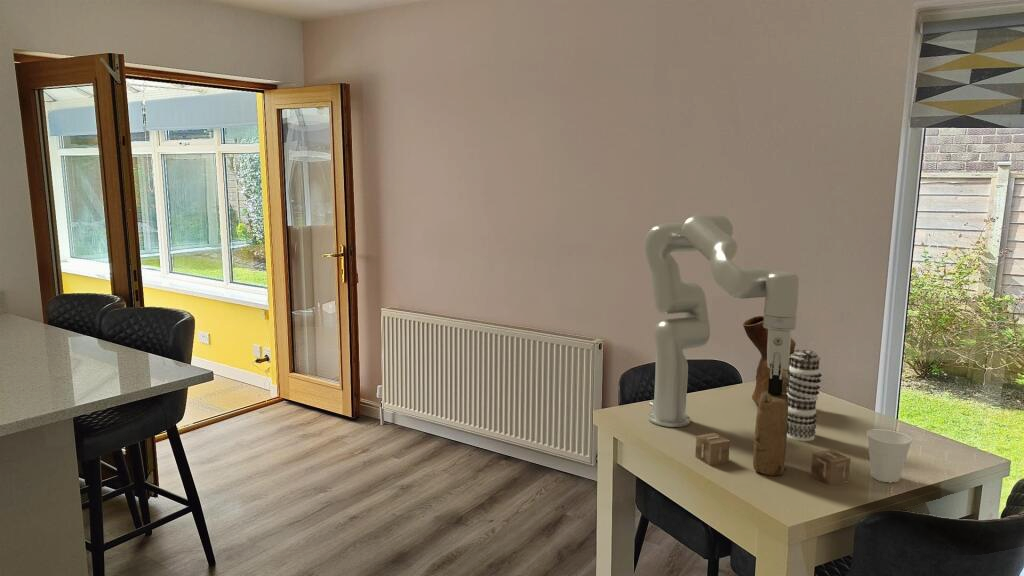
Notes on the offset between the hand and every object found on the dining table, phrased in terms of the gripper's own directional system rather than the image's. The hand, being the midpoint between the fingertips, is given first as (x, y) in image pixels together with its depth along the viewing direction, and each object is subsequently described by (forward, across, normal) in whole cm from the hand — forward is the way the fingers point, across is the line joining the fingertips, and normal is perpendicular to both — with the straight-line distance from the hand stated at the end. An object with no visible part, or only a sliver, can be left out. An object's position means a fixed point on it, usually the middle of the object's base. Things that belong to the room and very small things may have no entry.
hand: (774, 393), depth 172 cm
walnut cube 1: (+20, 0, +14) cm, 25 cm away
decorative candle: (+20, +28, -7) cm, 36 cm away
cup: (+20, +6, -27) cm, 34 cm away
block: (+20, 0, 0) cm, 20 cm away
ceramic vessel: (+20, +52, +2) cm, 56 cm away
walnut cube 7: (+20, 0, -14) cm, 25 cm away
